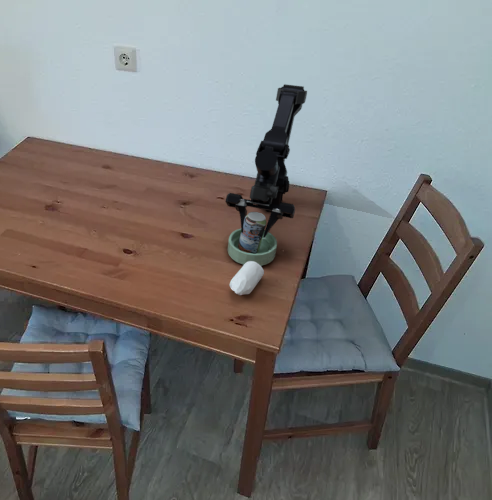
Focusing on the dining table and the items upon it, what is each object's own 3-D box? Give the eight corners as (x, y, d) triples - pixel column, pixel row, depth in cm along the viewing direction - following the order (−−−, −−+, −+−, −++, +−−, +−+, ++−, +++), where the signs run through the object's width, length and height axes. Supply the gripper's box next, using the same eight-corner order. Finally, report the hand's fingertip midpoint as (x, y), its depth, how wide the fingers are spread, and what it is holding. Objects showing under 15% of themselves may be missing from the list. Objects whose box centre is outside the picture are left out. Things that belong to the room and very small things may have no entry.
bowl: (259, 235, 162) (260, 223, 159) (284, 261, 152) (286, 248, 149) (219, 245, 158) (220, 233, 156) (242, 272, 148) (243, 259, 145)
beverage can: (233, 249, 156) (235, 214, 148) (252, 241, 159) (256, 206, 151) (247, 260, 151) (251, 225, 144) (267, 251, 154) (271, 216, 147)
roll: (223, 298, 140) (224, 282, 136) (242, 273, 148) (244, 257, 144) (244, 306, 137) (246, 290, 134) (263, 281, 145) (265, 264, 142)
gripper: (229, 167, 146) (216, 222, 145) (299, 178, 141) (286, 236, 139) (234, 179, 157) (221, 230, 155) (299, 190, 151) (287, 243, 150)
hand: (253, 235), depth 150 cm, fingers closed on beverage can, 6 cm apart
